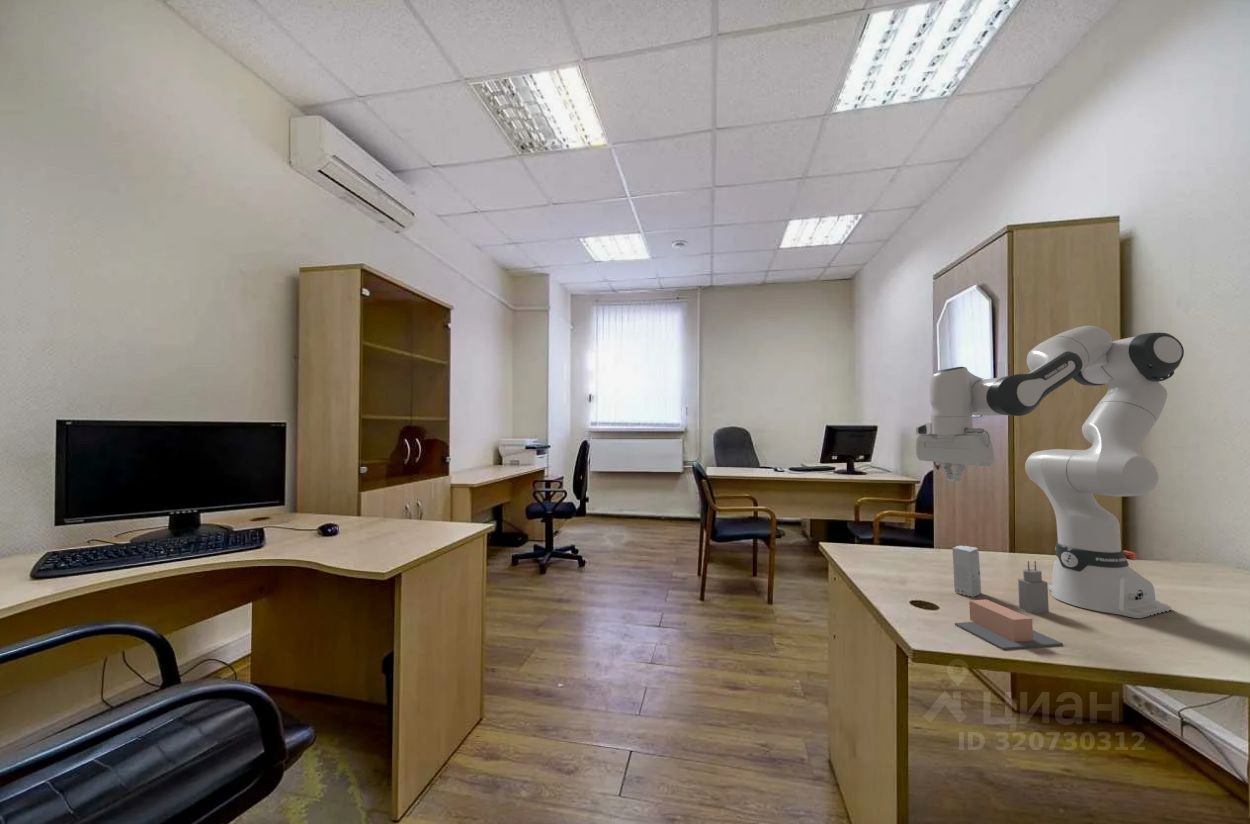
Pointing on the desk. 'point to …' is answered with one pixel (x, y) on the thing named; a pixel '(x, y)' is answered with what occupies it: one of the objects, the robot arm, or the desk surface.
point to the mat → (1004, 642)
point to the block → (1001, 620)
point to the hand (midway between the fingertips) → (953, 480)
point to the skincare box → (966, 570)
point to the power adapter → (1033, 591)
